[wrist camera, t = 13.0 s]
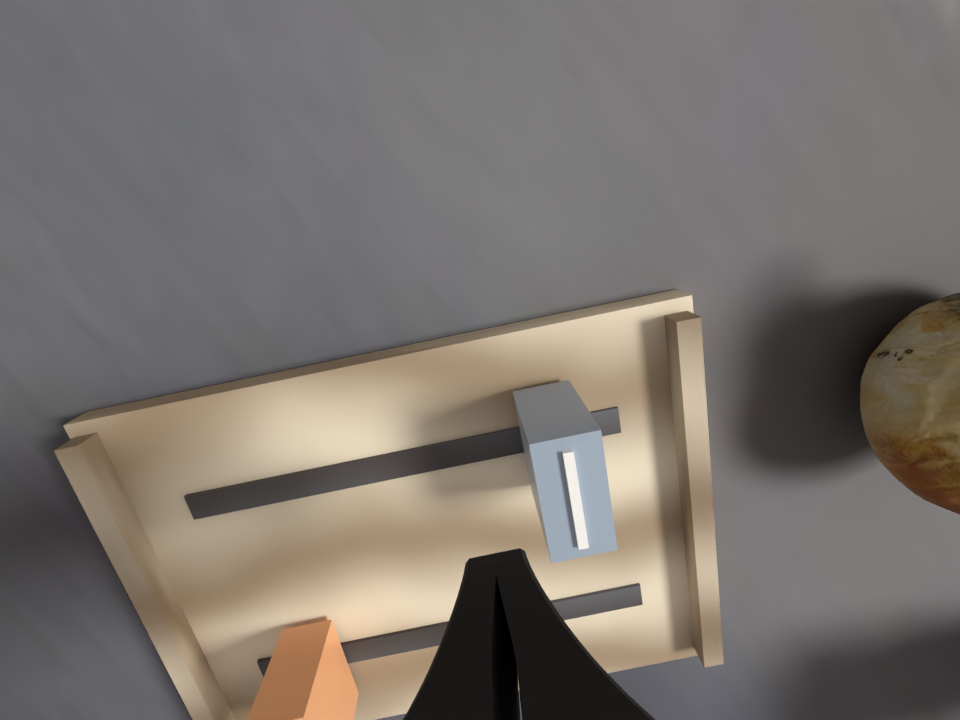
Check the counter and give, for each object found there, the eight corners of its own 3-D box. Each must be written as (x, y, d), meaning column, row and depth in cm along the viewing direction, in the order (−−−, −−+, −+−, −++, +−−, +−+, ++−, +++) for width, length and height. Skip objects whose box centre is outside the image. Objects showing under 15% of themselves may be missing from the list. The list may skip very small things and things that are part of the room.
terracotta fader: (358, 693, 21) (337, 804, 17) (312, 702, 21) (280, 816, 17) (331, 619, 20) (302, 721, 16) (282, 629, 20) (241, 734, 16)
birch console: (704, 629, 23) (728, 671, 21) (236, 722, 24) (215, 773, 21) (677, 289, 18) (706, 300, 16) (87, 411, 19) (40, 438, 17)
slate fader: (584, 478, 19) (619, 553, 15) (531, 489, 19) (552, 567, 15) (568, 379, 18) (602, 432, 14) (512, 391, 18) (529, 447, 14)
